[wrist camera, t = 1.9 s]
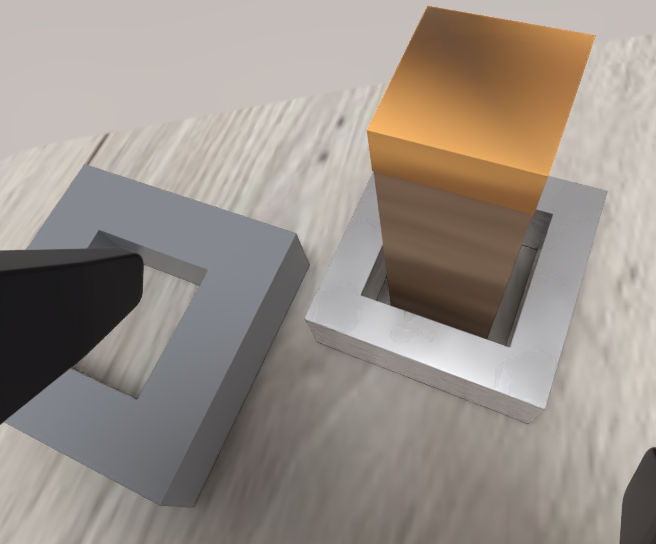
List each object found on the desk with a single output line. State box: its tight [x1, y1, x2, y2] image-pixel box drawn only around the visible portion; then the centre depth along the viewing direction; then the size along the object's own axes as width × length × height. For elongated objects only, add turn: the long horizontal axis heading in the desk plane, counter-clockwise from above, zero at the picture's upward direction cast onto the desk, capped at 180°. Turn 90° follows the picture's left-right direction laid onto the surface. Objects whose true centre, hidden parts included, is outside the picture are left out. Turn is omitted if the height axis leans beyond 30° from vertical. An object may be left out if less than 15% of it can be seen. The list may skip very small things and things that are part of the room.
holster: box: [305, 172, 608, 424], centre depth 22 cm, size 9×9×3 cm
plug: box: [367, 6, 595, 339], centre depth 18 cm, size 4×4×12 cm
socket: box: [4, 164, 310, 507], centre depth 23 cm, size 11×11×3 cm
